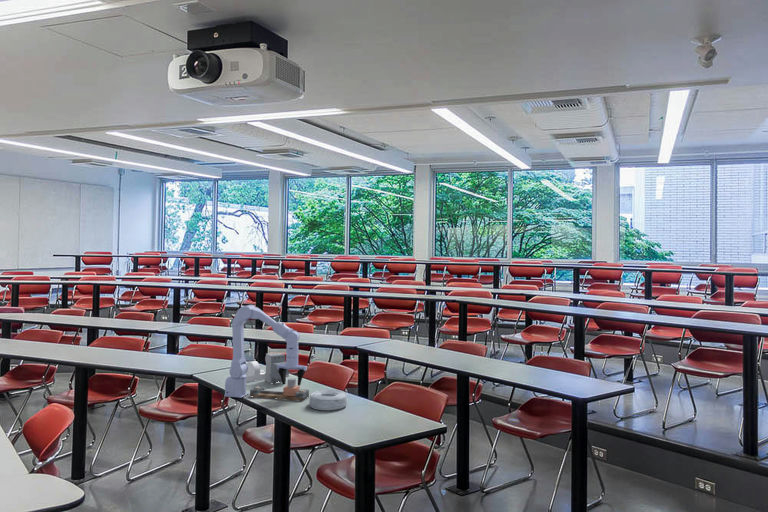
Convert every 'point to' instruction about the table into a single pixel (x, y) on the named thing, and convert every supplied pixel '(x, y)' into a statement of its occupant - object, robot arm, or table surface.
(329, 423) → the table surface
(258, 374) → the white slotted bracket
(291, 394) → the carriage
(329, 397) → the cable
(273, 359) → the circuit breaker
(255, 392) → the rail
